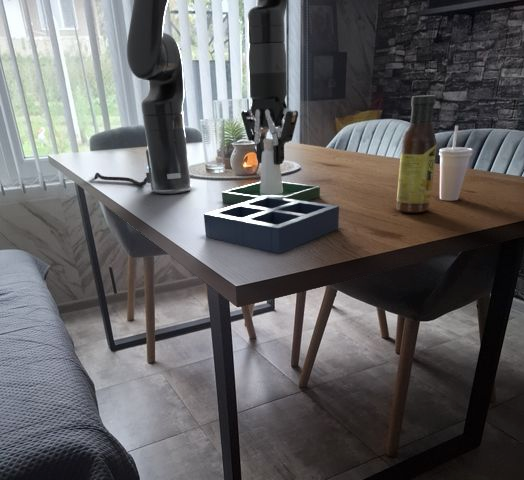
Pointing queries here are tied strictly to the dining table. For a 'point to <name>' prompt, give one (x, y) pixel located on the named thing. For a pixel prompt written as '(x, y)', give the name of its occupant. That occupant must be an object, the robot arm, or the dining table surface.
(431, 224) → the dining table surface
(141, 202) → the dining table surface
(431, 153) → the sauce bottle
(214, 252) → the dining table surface
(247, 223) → the rack
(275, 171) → the pepper shaker
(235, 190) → the tray
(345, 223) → the dining table surface
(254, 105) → the robot arm
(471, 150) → the smoothie
